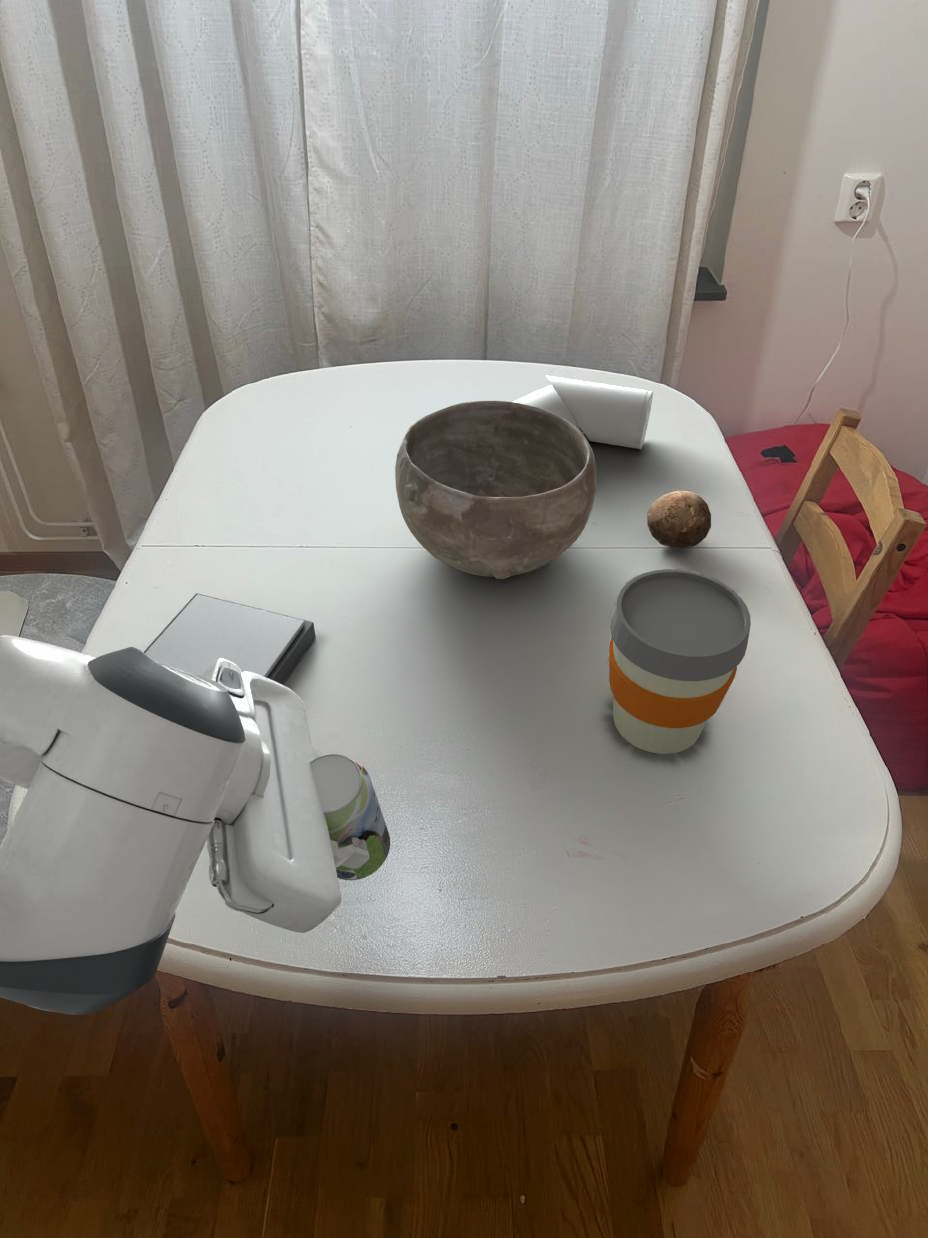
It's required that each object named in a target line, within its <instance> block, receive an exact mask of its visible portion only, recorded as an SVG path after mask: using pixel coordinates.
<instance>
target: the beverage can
mask: <svg viewBox="0 0 928 1238" xmlns="http://www.w3.org/2000/svg"><path fill="white" fill-rule="evenodd" d="M309 763H311V764H310V765H311V768H312V771H313V775H314V779H315V783H316V787H317V790H318V794H319V798H320V802H321V806H322V810H323V811H322V812H323V813H325V815H326V820H327V825H328V831H329V836H330V840H333V841H336V842H337V844H338V847H339V846H340V845H341V844H344V842H345V840H347V839H348V838H349V837H350V836H354V837H357V838H358V839H360V840H361V839H363V840H365V841H366V844H367V849H368V852H369V856H370V859H369V860H368V861H367V862H366V863H364V864H363V865H362V866H361V867H360V868H357V869H352V868H349V867H345V866H341V865H340V866H339V867H336V872H337V877H338V880H339V879H340V880H343V881H358V880H359V881H360V880H363V879H364V878H367V877H369V876H371V875H373V874H374V873H375V872H377V871H378V870H379V869H380V868H381V867H382V866H383V864H384V863H385V862H386V860H387V858H388V856H389V853H390V849H391V836H390V833H389V829H388V826H387V823H386V820H385V818H384V814H383V810H382V808H381V805H380V802H379V800H378V796H377V793H376V790H375V787H374V785H373V781H372V778H371V776H370V774H369V772H368V771H367V769H366V768H365V766H363V765H362V764H361V763H360V762H358V761H357V760H354V759H353V758H350V757H348V756H346V755H343V754H338V753H328V754H324V755H323V756H320V757H318V758H316V759H314V760H312V761H311V762H309Z"/></svg>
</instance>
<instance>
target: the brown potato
mask: <svg viewBox="0 0 928 1238" xmlns="http://www.w3.org/2000/svg"><path fill="white" fill-rule="evenodd" d="M646 520H647V525H646V526H647V528H648V530H649V532H650V534H651V537H652V538H653V539H654V540H656V541H657V542H658V543H659V544H660V545H661V546H665V547H667V548H670V549H687V548H693V547H696V546H698V545H699V544H700V543H701V542H702V541H704V540H705V539H706V538H707V536H708V534H709V533H710V530H711V528H712V513H711V510H710V507H709V505H708V503H707V501H705V499H703V497H702V496H701V495H700V494H697V493H695V492H692V491H689V490H675V491H672V492H668V493H665V494H663V495H661V496H660V497H658V498H657V499H656V500H654V501H653V502H652V503H651V506H650V507H649V509H648V510H647V512H646Z"/></svg>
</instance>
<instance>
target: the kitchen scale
mask: <svg viewBox="0 0 928 1238" xmlns="http://www.w3.org/2000/svg"><path fill="white" fill-rule="evenodd" d="M315 629H316V628H315V624H314V621H312V620H306V619H304V618H303V619H302V618H298V617H294V616H291V615H287V614H283V613H278V612H275V611H271V610H266V609H262V608H259V607H254V606H250V605H246V604H242V603H238V602H233V601H230V600H226V599H222V598H217V597H214V596H209V595H206V594H201V593H199V592H196V593H195V594H194V595H193V596H192V597H191V598H190V600H189V601H188V602H187V603H186V604H185V605H183V607H182V608H181V610H179V612H178V613H177V614H176V615H175V616H174V617H173V618H172V619H171V621H170V622H169V623H168V624H167V625H166V627H164V628H163V630H162V631H161V632H160V633H159V634H158V635H157V636H156V637H155V638H154V640H153V641H152V642H151V643H150V644H149V645H148V647H147V648H145V650H144V651H143V652H144V653H145V654H146V655H148V656H149V657H150V658H152V659H153V660H155V661H157V662H160V663H162V664H164V665H167V666H170V667H172V668H176V669H179V670H182V671H186V672H191V673H194V674H198V675H201V674H202V673H203V672H204V671H205V670H206V669H207V668H208V667H209V666H211V665H212V664H213V663H214V662H215V661H216V660H217V659H219V658H223V659H226V660H229V661H231V662H233V663H235V664H236V665H237V666H239V668H240V669H241V672H244V671H247V672H253V673H256V674H258V675H261V676H264V677H266V678H268V679H271V680H273V681H275V682H277V683H280V684H282V685H284V684H285V683H286V681H288V679H289V677H290V676H291V674H292V673H293V671H294V670H295V669H296V667H297V666H298V665H299V663H300V661H301V660H302V658H303V657H304V656H305V654H306V653H307V652H308V650H309V648H310V647H311V645H312V644H313V643H314V641H315V640H316V638H317V636H316V630H315Z"/></svg>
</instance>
